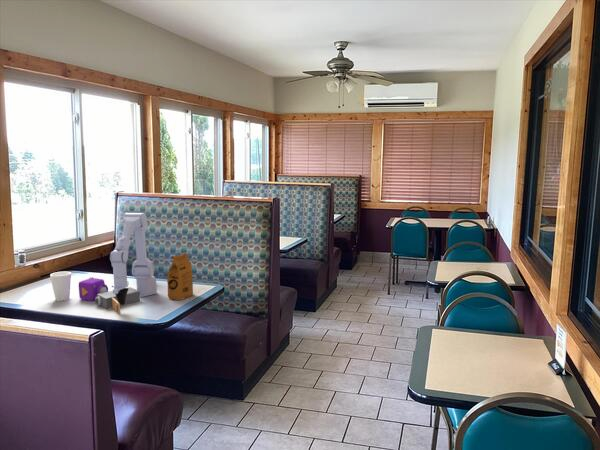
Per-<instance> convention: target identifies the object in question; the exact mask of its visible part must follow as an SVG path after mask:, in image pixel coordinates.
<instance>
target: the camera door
mask: <svg viewBox="0 0 600 450" xmlns="http://www.w3.org/2000/svg"><path fill="white" fill-rule="evenodd" d="M112 308H113V310H114V311H116V312H117V313H118V314H121V312H122V311H121V305H120V303H119V302H118V301H117V300H115V299H114V298H112Z"/></svg>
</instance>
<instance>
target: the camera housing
mask: <svg viewBox="0 0 600 450" xmlns="http://www.w3.org/2000/svg"><path fill="white" fill-rule="evenodd" d="M127 288H128V289H129V290H128V292H127V295H126V300H125V304H124V305H123V306H125V305H129V304H133V303H136V302H137V303H138V302H140V301H141V297H140V291H138V290H137V288H136V289H135V288H133V287H131V286H130V287H129V286H128V287H127ZM112 298H114V299H115V300H117V301H118V299H117V297H116V295H115V294H113V290H111V291H108V292H105V293H100V294H97V297H96V298H95V300H94V301H95V305H96V306H100V307H102V308H103V309H105V310H106V309H107V310H108V309H111V308H113V307H112Z"/></svg>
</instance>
